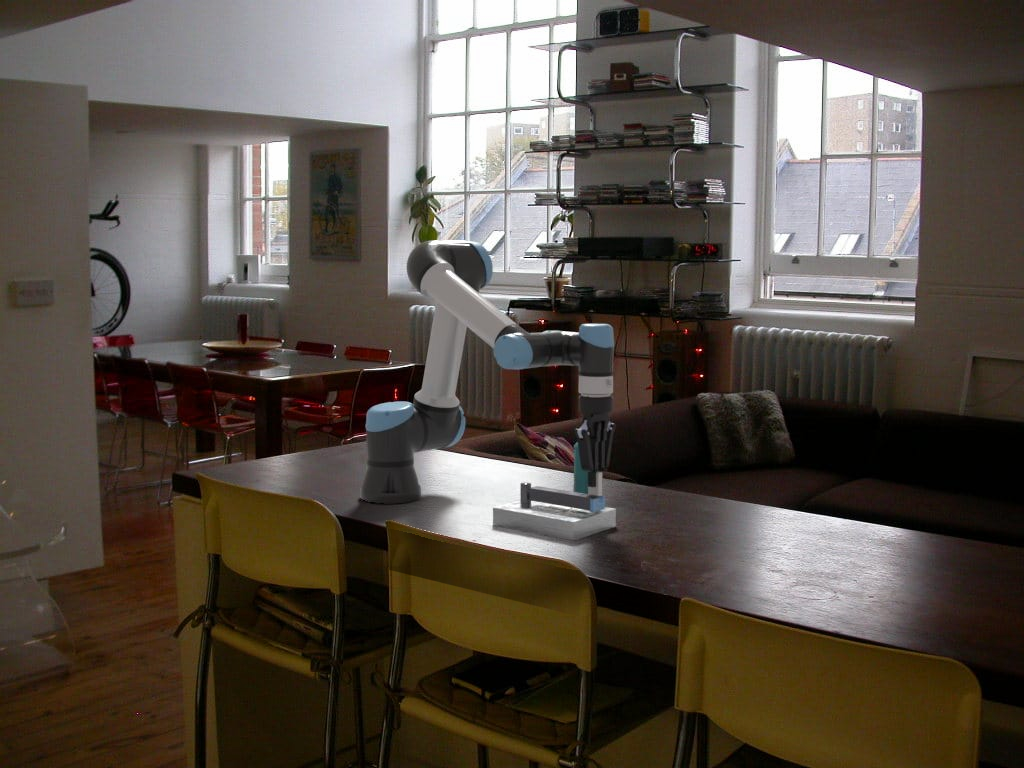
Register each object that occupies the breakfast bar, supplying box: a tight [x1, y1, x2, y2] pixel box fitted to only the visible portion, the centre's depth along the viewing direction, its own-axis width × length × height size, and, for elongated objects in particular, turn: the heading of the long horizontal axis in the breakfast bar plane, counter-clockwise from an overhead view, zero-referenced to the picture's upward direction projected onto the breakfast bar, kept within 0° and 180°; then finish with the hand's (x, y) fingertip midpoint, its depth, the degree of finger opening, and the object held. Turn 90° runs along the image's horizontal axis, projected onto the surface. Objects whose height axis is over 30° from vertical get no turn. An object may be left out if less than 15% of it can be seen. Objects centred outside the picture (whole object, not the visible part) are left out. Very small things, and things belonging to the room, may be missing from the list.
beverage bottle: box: [572, 426, 588, 494], centre depth 258 cm, size 6×7×20 cm
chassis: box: [492, 482, 617, 542], centre depth 243 cm, size 22×16×8 cm
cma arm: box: [530, 485, 606, 512], centre depth 241 cm, size 18×4×3 cm, turn 51°
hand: (594, 500), depth 242 cm, fingers closed
